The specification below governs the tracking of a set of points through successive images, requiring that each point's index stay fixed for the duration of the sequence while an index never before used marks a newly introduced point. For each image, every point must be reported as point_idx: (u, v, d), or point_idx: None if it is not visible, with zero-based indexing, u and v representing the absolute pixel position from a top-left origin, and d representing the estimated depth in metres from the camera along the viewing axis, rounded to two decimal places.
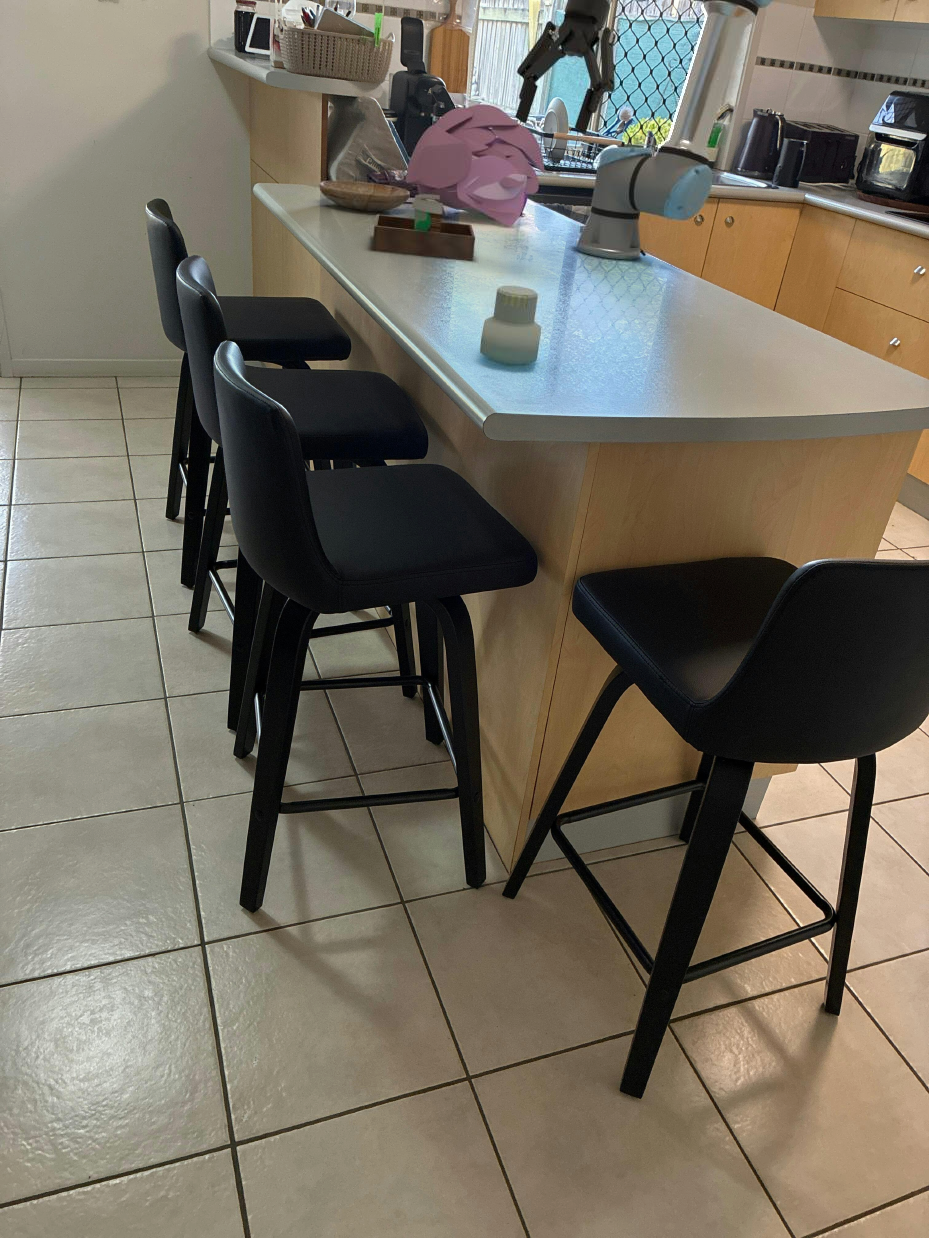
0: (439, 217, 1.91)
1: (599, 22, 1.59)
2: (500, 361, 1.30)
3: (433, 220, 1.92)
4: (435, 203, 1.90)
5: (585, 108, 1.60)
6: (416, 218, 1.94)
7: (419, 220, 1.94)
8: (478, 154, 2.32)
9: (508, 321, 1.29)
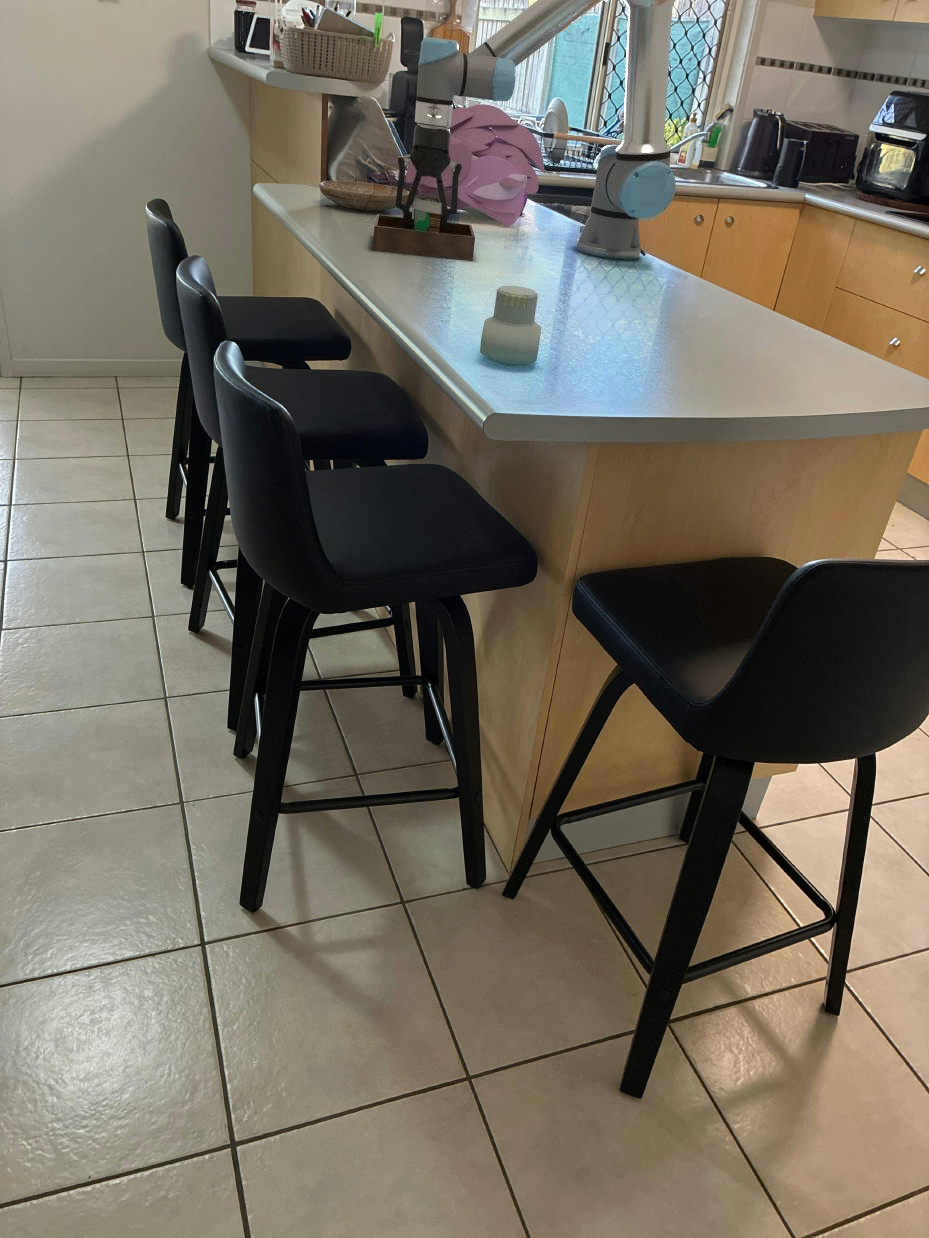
0: (438, 217, 1.91)
1: (448, 150, 1.89)
2: (500, 361, 1.30)
3: (432, 220, 1.92)
4: (434, 203, 1.90)
5: None
6: (415, 218, 1.94)
7: (418, 220, 1.94)
8: (478, 154, 2.32)
9: (508, 321, 1.29)
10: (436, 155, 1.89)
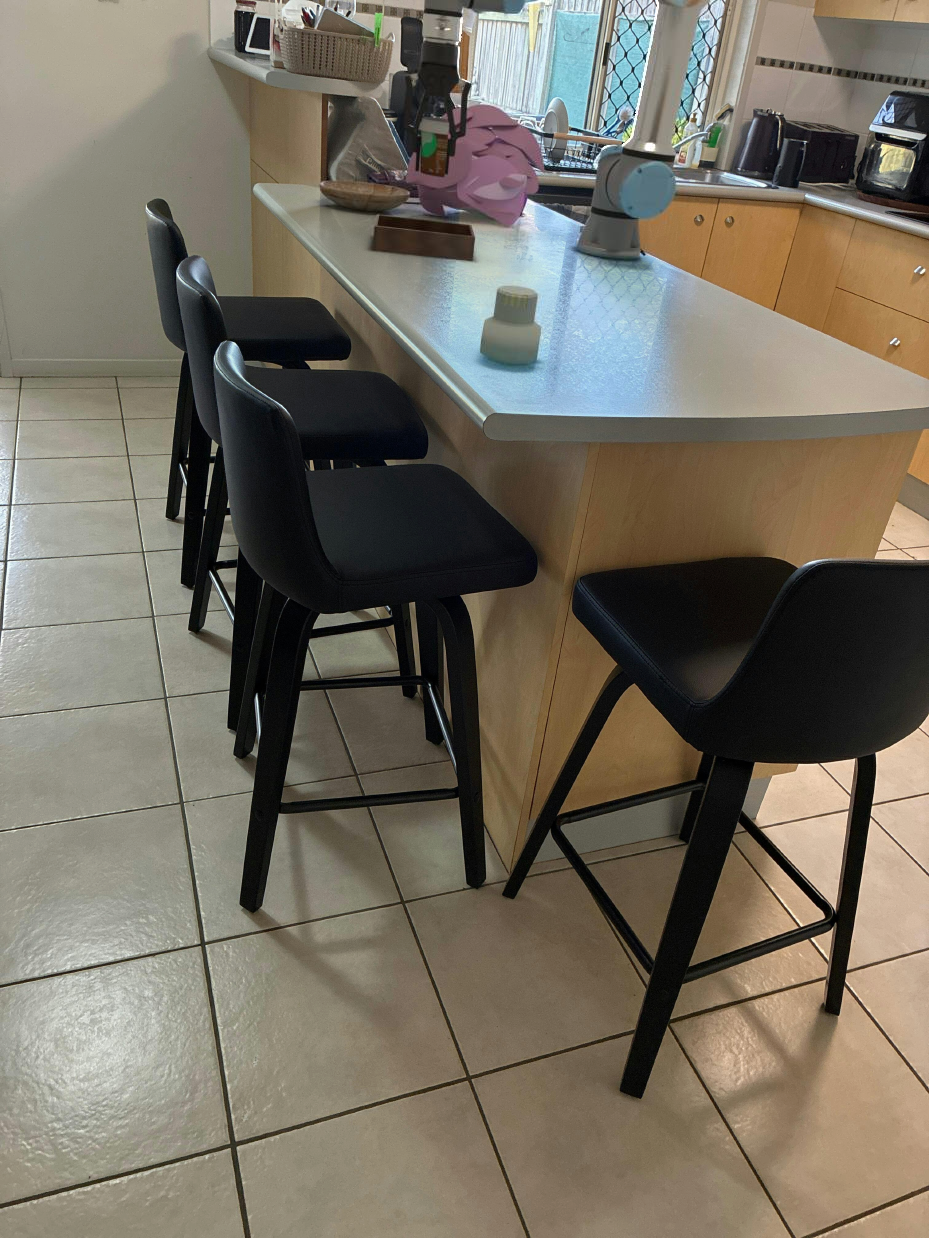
0: (445, 138, 1.84)
1: None
2: (500, 361, 1.30)
3: (439, 142, 1.84)
4: (441, 123, 1.82)
5: None
6: (422, 141, 1.87)
7: (425, 142, 1.86)
8: (478, 154, 2.32)
9: (507, 321, 1.29)
10: (445, 72, 1.81)
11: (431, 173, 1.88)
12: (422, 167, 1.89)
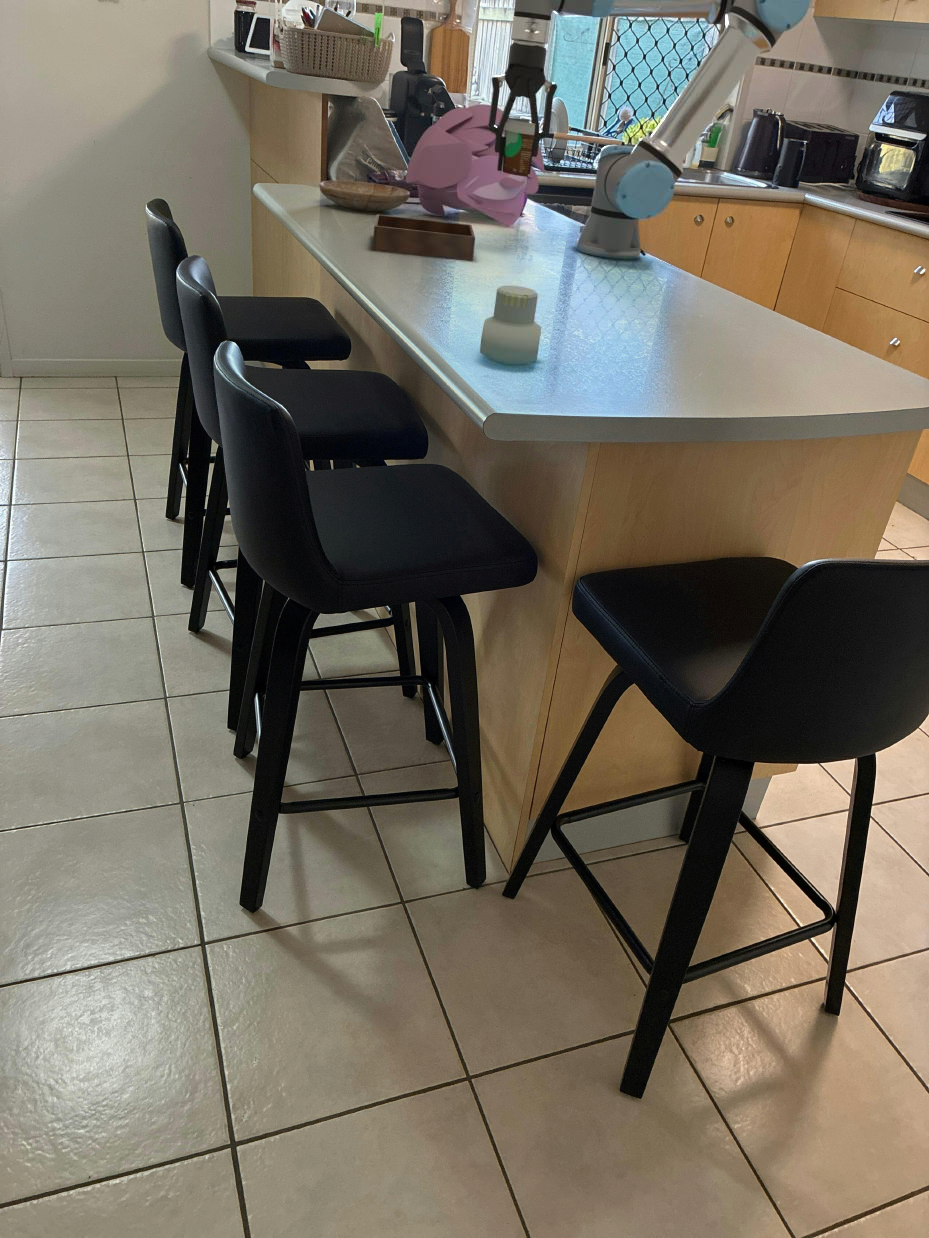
0: (531, 138, 1.87)
1: (544, 69, 1.85)
2: (500, 361, 1.30)
3: (525, 142, 1.88)
4: (527, 123, 1.86)
5: (531, 156, 1.93)
6: (506, 141, 1.90)
7: (509, 142, 1.90)
8: (478, 154, 2.32)
9: (507, 321, 1.29)
10: (531, 74, 1.85)
11: (514, 172, 1.92)
12: (505, 166, 1.93)
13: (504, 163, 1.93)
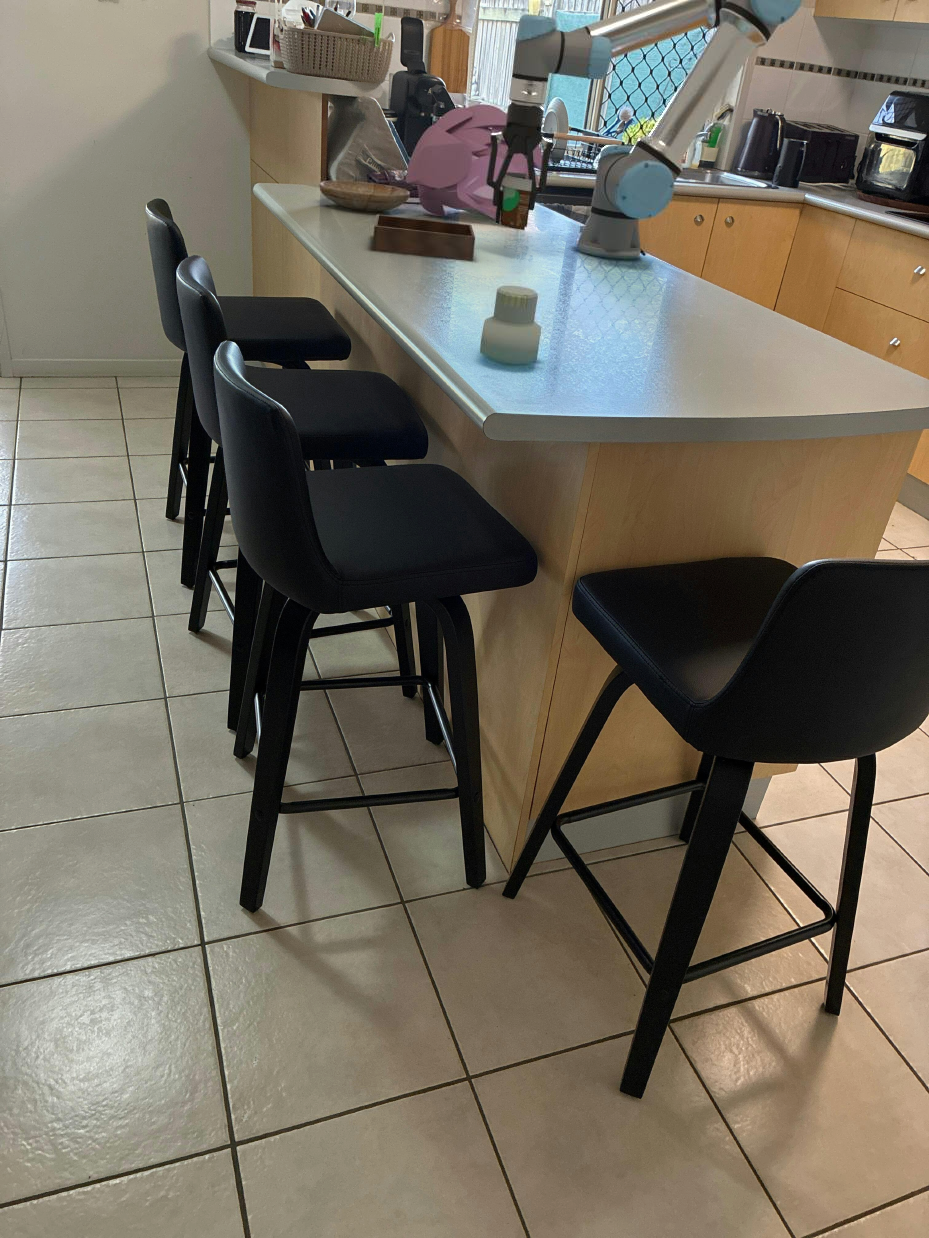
0: (528, 194, 1.93)
1: None
2: (500, 361, 1.30)
3: (522, 197, 1.94)
4: (524, 180, 1.91)
5: (528, 210, 1.99)
6: (504, 195, 1.96)
7: (507, 197, 1.95)
8: (478, 154, 2.32)
9: (507, 321, 1.29)
10: (529, 132, 1.90)
11: (512, 226, 1.97)
12: (503, 219, 1.99)
13: (502, 216, 1.99)
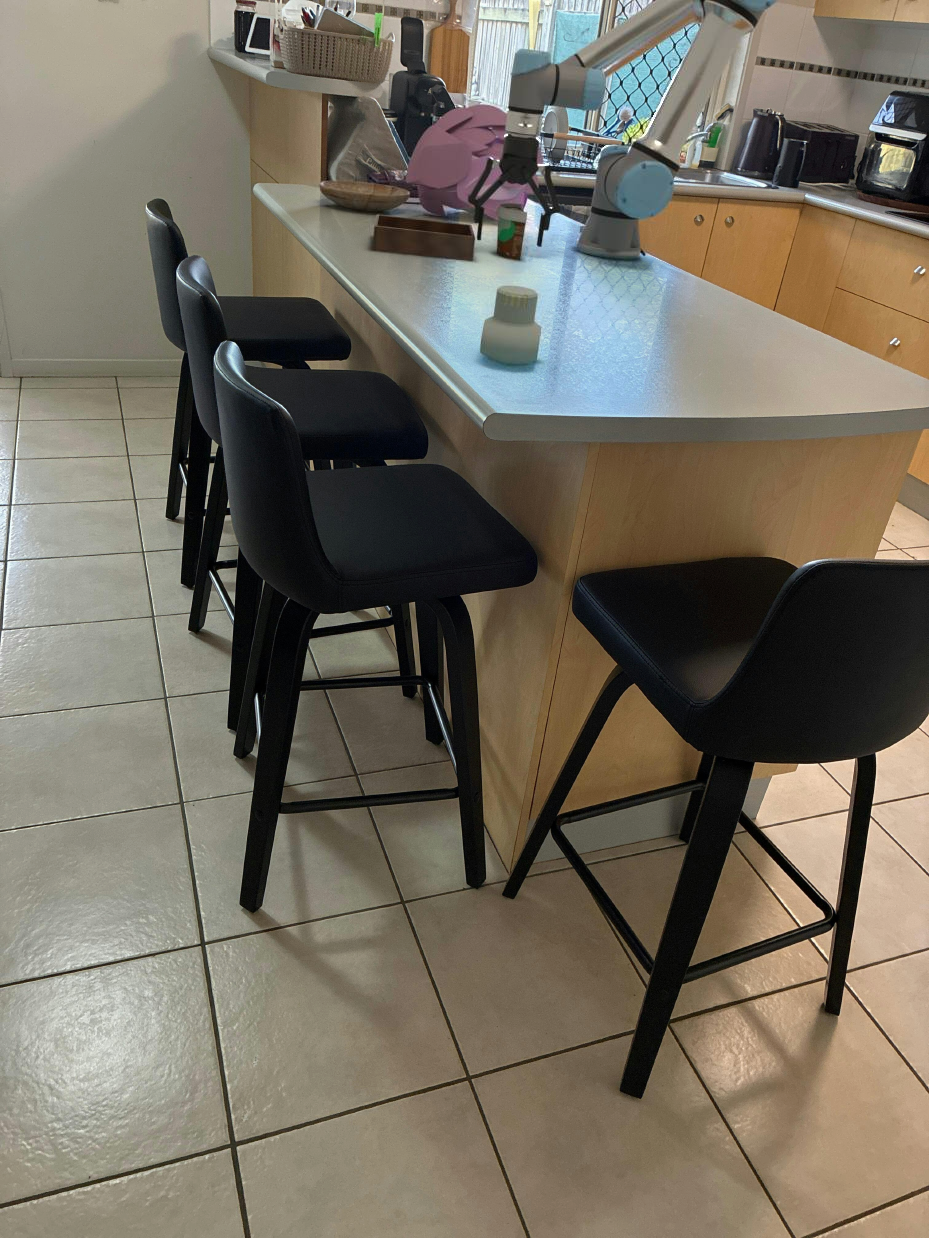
0: (523, 225, 1.96)
1: None
2: (500, 361, 1.30)
3: (517, 229, 1.97)
4: (520, 212, 1.95)
5: None
6: (500, 226, 1.99)
7: (503, 228, 1.99)
8: (478, 154, 2.32)
9: (508, 321, 1.29)
10: (525, 163, 1.94)
11: (508, 256, 2.01)
12: (499, 250, 2.02)
13: (498, 246, 2.02)
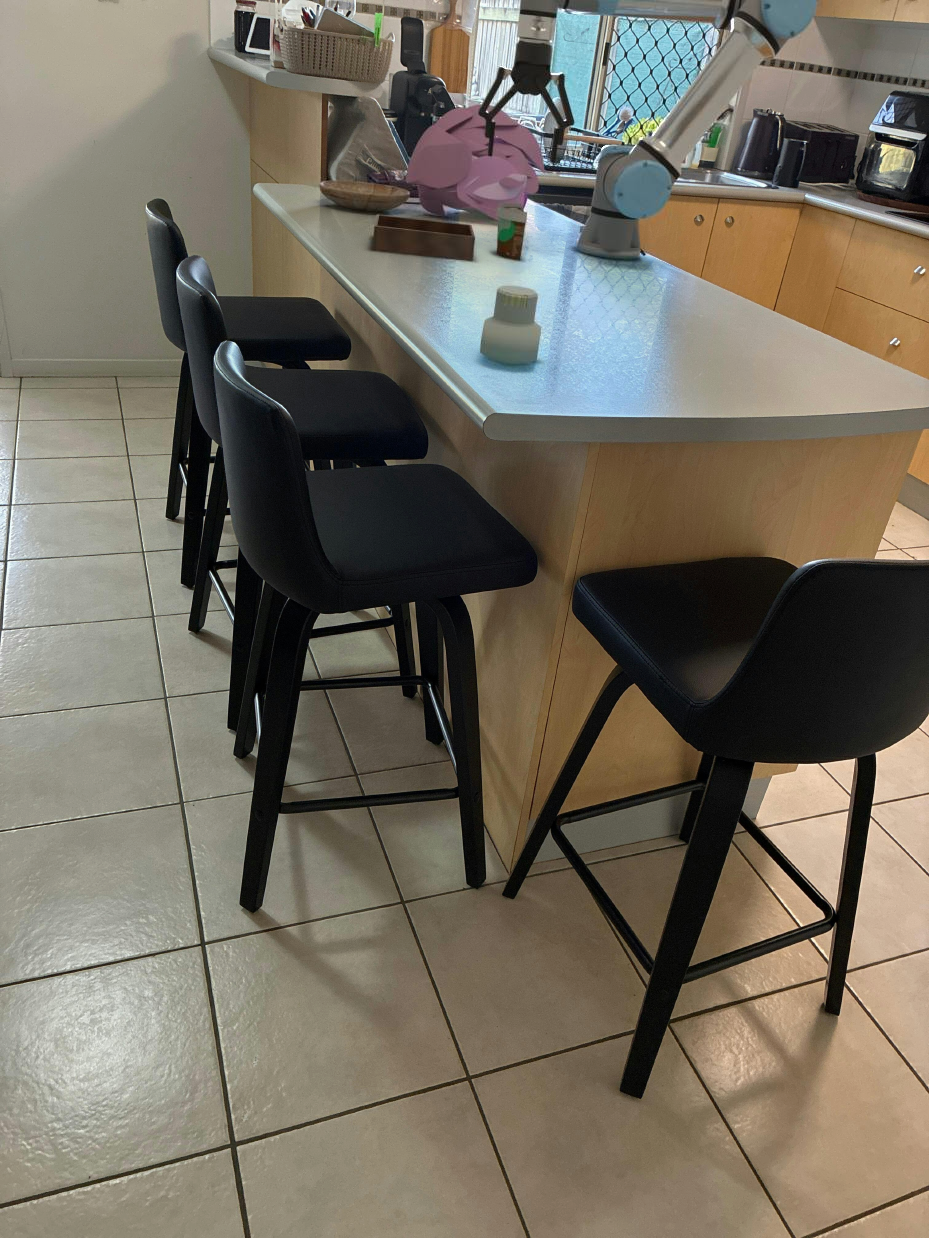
0: (523, 225, 1.96)
1: (550, 66, 1.86)
2: (500, 361, 1.30)
3: (517, 229, 1.97)
4: (520, 212, 1.95)
5: None
6: (500, 226, 1.99)
7: (503, 228, 1.99)
8: (478, 154, 2.32)
9: (508, 321, 1.29)
10: (538, 72, 1.86)
11: (508, 256, 2.01)
12: (499, 250, 2.02)
13: (498, 246, 2.02)
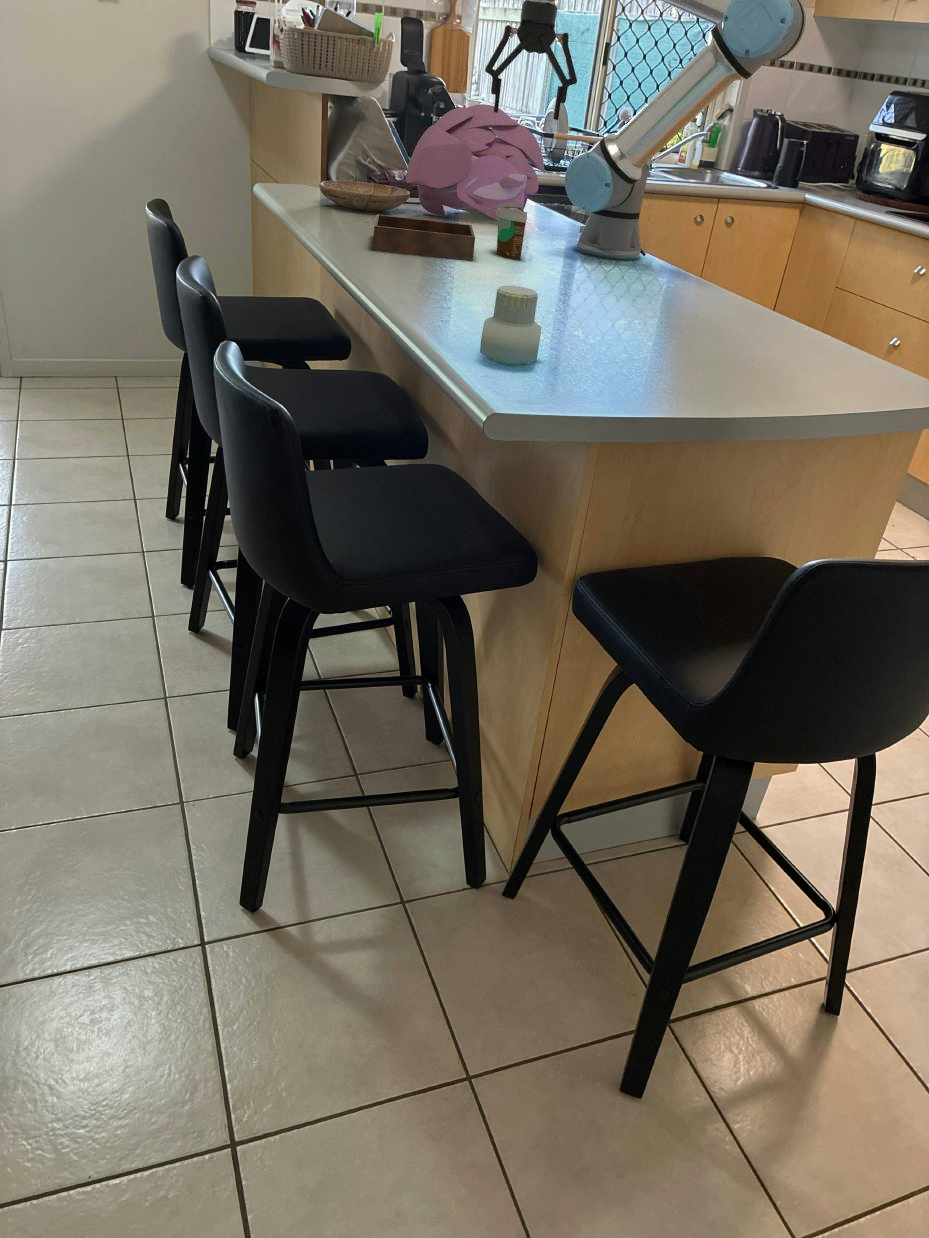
0: (523, 225, 1.96)
1: None
2: (500, 361, 1.30)
3: (517, 229, 1.97)
4: (520, 212, 1.95)
5: None
6: (500, 226, 1.99)
7: (503, 228, 1.99)
8: (478, 154, 2.32)
9: (508, 321, 1.29)
10: (543, 31, 1.94)
11: (508, 256, 2.01)
12: (499, 250, 2.02)
13: (498, 246, 2.02)
